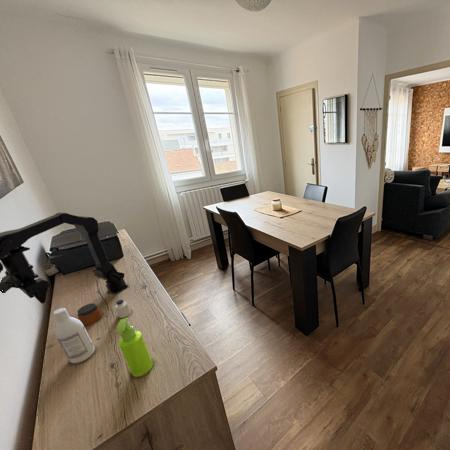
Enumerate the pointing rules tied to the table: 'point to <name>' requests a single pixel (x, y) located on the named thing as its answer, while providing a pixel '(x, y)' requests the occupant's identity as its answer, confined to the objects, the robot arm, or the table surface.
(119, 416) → the table surface
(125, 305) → the white bottle
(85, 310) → the amber bottle
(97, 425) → the table surface
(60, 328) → the bath foam
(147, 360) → the soap dispenser
